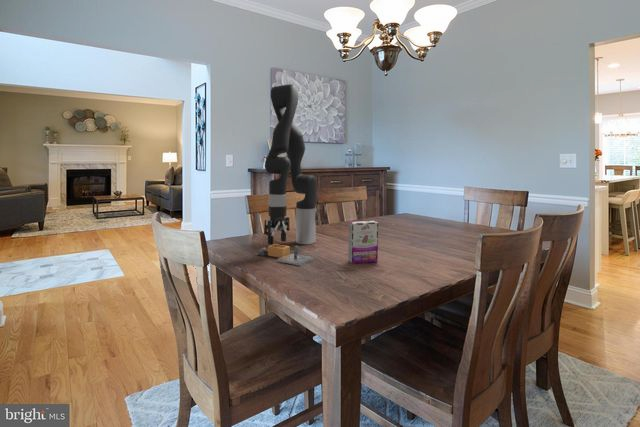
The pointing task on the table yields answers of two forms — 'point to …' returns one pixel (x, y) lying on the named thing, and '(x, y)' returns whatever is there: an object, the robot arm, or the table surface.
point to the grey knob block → (263, 252)
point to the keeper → (296, 258)
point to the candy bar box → (363, 242)
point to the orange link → (278, 250)
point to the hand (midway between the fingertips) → (277, 242)
